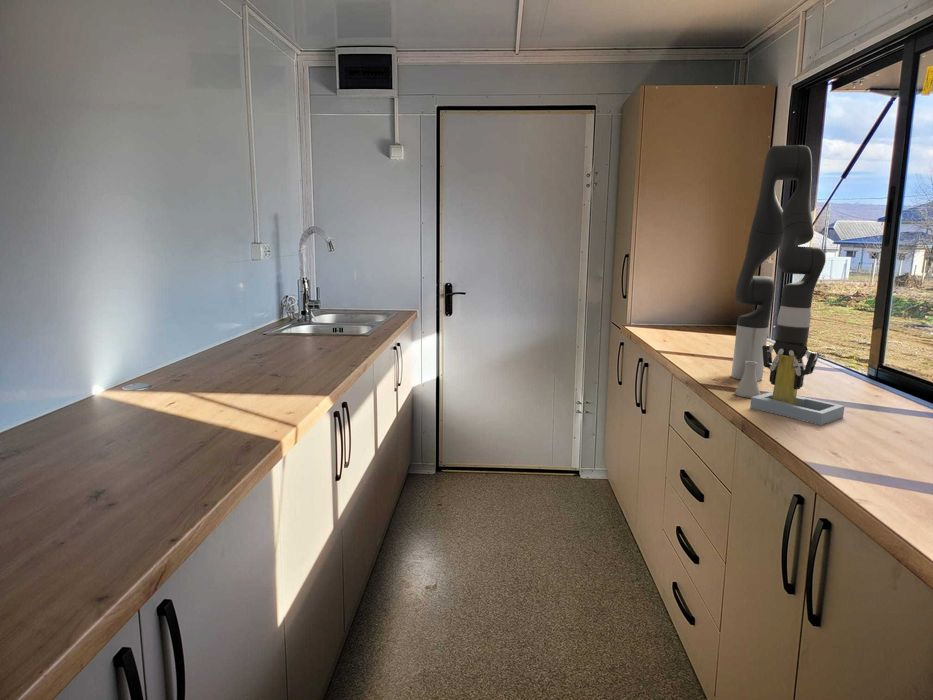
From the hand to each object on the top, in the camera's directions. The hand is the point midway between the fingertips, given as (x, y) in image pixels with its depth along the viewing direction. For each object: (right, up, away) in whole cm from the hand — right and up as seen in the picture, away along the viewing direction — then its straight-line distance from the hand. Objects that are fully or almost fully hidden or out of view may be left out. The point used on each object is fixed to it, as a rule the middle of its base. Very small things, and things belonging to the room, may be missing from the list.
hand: (785, 386), depth 165 cm
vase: (0, -6, +1) cm, 6 cm away
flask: (-3, -4, +15) cm, 16 cm away
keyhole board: (+2, -7, -2) cm, 7 cm away
